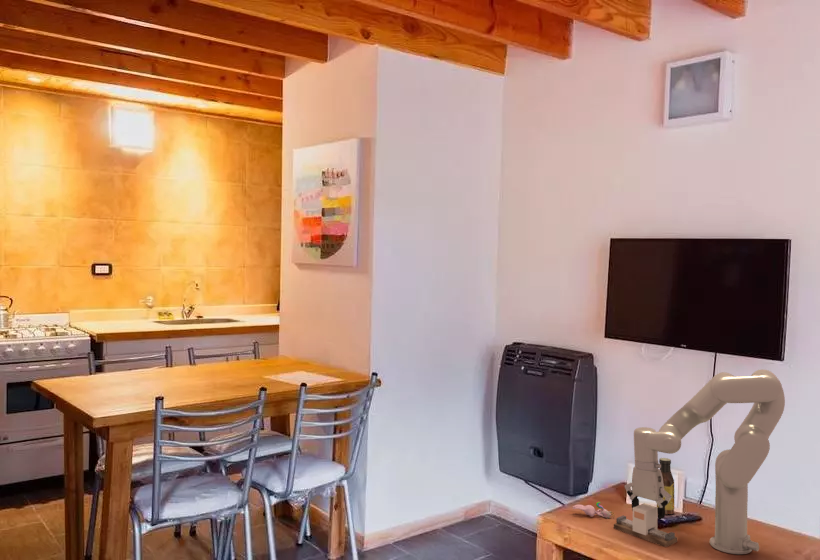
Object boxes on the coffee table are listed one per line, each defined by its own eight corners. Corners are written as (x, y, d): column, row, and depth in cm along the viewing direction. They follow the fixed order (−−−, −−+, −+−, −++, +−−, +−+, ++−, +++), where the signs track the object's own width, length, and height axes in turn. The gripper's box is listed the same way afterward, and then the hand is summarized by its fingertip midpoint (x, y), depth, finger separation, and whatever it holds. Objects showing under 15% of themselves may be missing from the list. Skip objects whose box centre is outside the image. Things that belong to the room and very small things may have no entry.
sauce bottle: (677, 515, 249) (677, 462, 249) (659, 515, 249) (660, 462, 249) (670, 509, 256) (670, 456, 255) (653, 508, 256) (654, 456, 255)
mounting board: (677, 541, 226) (677, 537, 226) (665, 547, 222) (666, 542, 222) (625, 523, 242) (625, 519, 242) (613, 528, 237) (613, 524, 237)
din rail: (674, 538, 225) (674, 532, 225) (668, 541, 223) (668, 536, 223) (623, 520, 241) (623, 515, 241) (616, 523, 238) (616, 518, 238)
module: (657, 530, 232) (657, 507, 232) (645, 535, 227) (645, 512, 227) (644, 525, 236) (644, 503, 236) (632, 530, 231) (632, 507, 231)
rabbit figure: (612, 518, 251) (571, 509, 253) (614, 502, 250) (573, 493, 253) (614, 524, 244) (572, 515, 247) (617, 508, 244) (575, 499, 247)
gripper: (675, 467, 226) (677, 518, 227) (630, 457, 240) (632, 505, 240) (663, 472, 222) (665, 524, 222) (618, 462, 235) (620, 511, 236)
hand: (648, 514), depth 231 cm, fingers open, 9 cm apart
